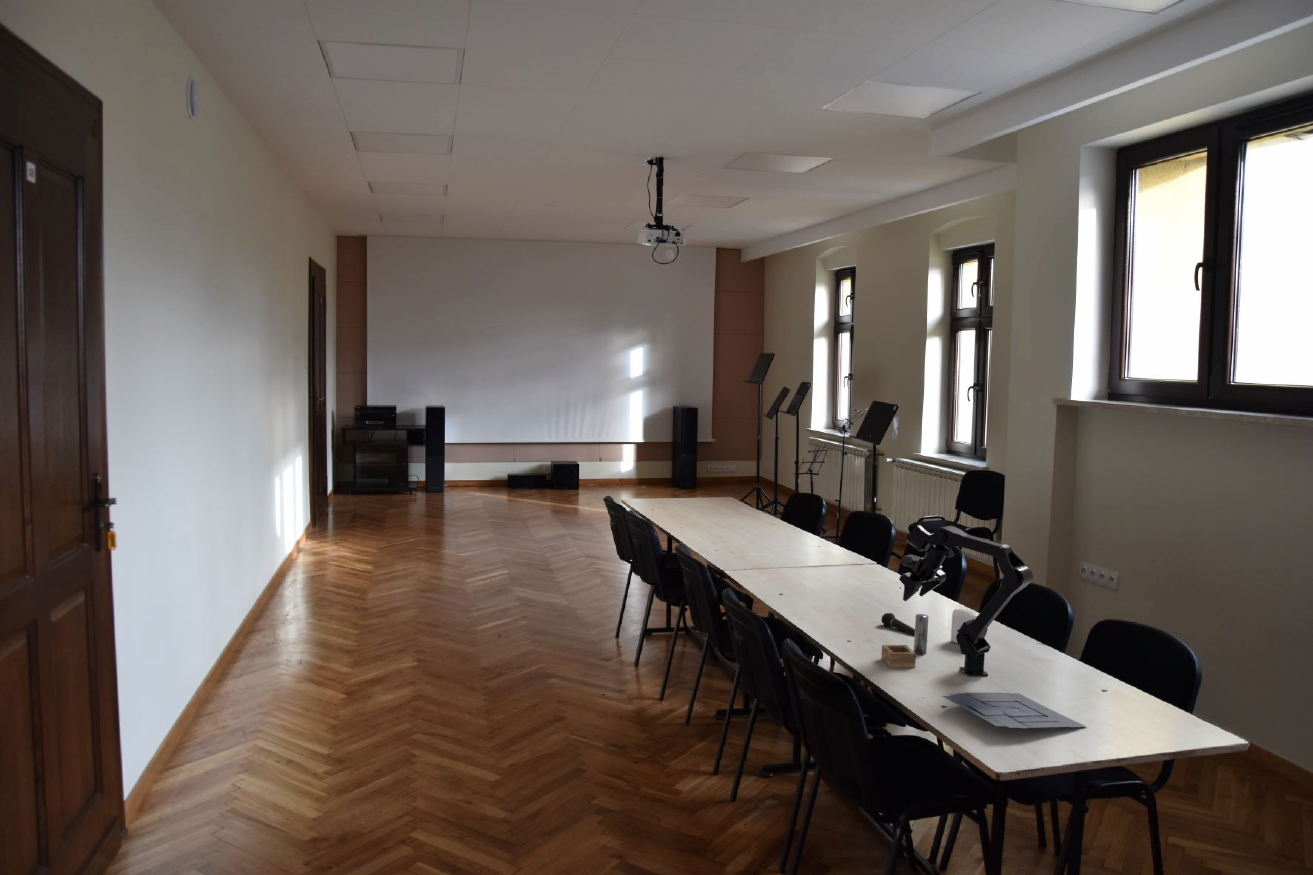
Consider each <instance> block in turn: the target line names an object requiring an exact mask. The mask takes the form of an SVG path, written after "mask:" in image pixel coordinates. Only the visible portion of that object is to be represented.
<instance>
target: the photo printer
mask: <svg viewBox="0 0 1313 875" xmlns="http://www.w3.org/2000/svg"><path fill="white" fill-rule="evenodd" d="M951 615H952V616H951V630H950V632H951V634H950V635H951V636H950V641H951V642H953V643H955V644H958V642H957V638H956V635H957V633H958V632H957V630H959V629H960V628H961V626H962V624H963V623H964V622H965V621H968V620H971V619H974V620H975V619H976V617H977V616H978V615H979V614H978V613H977V612H976V611H974V610H971V609H969V608H965V607H956V608H954V609H953V611H952V614H951Z"/></svg>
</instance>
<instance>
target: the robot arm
mask: <svg viewBox="0 0 1313 875" xmlns="http://www.w3.org/2000/svg"><path fill="white" fill-rule="evenodd" d="M905 541H906V542H907V543H909V545H911V546H912V547H914V548H915V549H916V550H917V551H919V552H923V551H924V552H925V554H924V556H923V557H920V556H917V555H914V554H907V555H904V556H902V558H901V559H900V563H901V565H902V566H903V567H908V568H909V569H912V570H911V571H912V572H913V573H914V574H913V573H912V572H911V571H909V572H906V573H901V574H900V576H899V580H898V581H900V583H902V584H903V594H902V600H903V602H908V600H909V599H911V598H912V597H913V596H914V595H915V594H917V593H918V592H919V594H918V595H919V597H923V596H925V595H926V594H927V593H929V592H931V591H932V590H933V589H936V588H937V587H938V586H939V585H942V583H944V582H946V580H947V578H948V577H947V574H946V573H945V572H944V571H943V570H942V569H943V566H942V564H943V562H944V560H945V558H948V559H949V558H952V557H955V553H954V551H953V548H955V547H956V548H963V549H966V550H970V551H974V552H978V553H980V554H984V555H987V556H991V557H994V558H995V559H996V561H997V563H998V566H999V570H1000V572H1001V573H1002V575H1003V577H1002V578H1001V581H1000V586H999V589H998V590H997V591H996V592H995V593H994V595H993V596H992V597H991V599H990V600H989V601H988V602H987V603H986V605H985V606H984V607H983V609H982V610H981V611H980V613H979V614H978V616H977V617H976V619H975V620H974V619H971V620H968V621H965V622H964V623H963V624H962V626H961V628H960V629H959V630H957V632H958V633H957V635H956V638H957V642H958V643H957V644H958V646H959V649H960V654H961V655H964V664H963V666H959V670H961V671H962V672H963V673H964V674H965V675H967V676H968V677H982V676H983V677H988V676H989V673H987V672H986V671H985V670H984V669H985V654H987V653H989V652H990V649H991V648H992V647H991V645H990V643H989V642H988V641H987V640H986V635H987V634H988V629H989V626H990V625H991V624H992V623H993V621H995V619H997V617H998V615H999V614H1000V613H1001V612H1002V611H1003V609H1005V607H1006V606H1007V604H1008V603H1009V602H1010V601H1011V599H1012V598H1013V597H1014V596H1015V595H1016V594H1017V593H1019V592H1020V591H1022V590H1023V589H1025V588H1026V587H1027V586H1028V585H1029V584H1030V583H1032V582H1033V579H1034V575H1033V574H1034V573H1033V572H1032V570H1031V569H1030V568H1029V567H1028V566H1027V565H1026V564H1025V562H1024V560H1023V559H1021V557H1020V556H1019V555H1017V554H1016V553H1015V551H1014V550H1013V548H1012V547H1011V546H1010V545H1009V544H1006V543H1005V544H1003V543H1000V542H996V541H992V540H988V539H985V538H982V537H978V536H975V535H971V534H968V533H966V532H964V531H963V529H960V528H958V527H956V526H954V525H947V526H941V527H939V528H936V529H935V531H934V532H933V533H930V532H929V531H927V530H926V529H925V528H924V527H923V526H922V525H921V524H919V525H915V526H914V528H913V529H912V530H910V532H909V533H908V534H907V535H906V537H905ZM915 573H916V575H915Z"/></svg>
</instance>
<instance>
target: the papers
mask: <svg viewBox="0 0 1313 875" xmlns="http://www.w3.org/2000/svg"><path fill="white" fill-rule="evenodd" d="M941 697H943V698H945V699H946V700H948V701H950V702H952V703H954V704H956V705H958V706H959V707H961V708H963V709H965V710H966V711H969V712H970V713H972V714H973V715H975V716H977V717H979V718H981V719H983V720H985V721H987V722H988V723H990V724H992V725H994V726H995V727H1008V728H1010V729H1012V728H1014V729H1015V728H1018V729H1019V728H1020V729H1033V728H1063V727H1064V728H1067V727H1068V728H1084V727H1085V728H1087V725H1084V724H1082V723H1080V722H1078V721H1076V720H1075V719H1074V720H1073V719H1071V718H1069V717H1067V716H1065V715H1063V714H1061V713H1059V712H1056V711H1055V710H1052V709H1051V708H1048V707H1046V706H1044V705H1042V704H1040V703H1039V702H1036V701H1034V700H1032V699H1031V698H1029V697H1027V696H1024V695H1023V694H1021V693H1015V692H1013V693H1010V692H1001V691H999V692H961V693H960V692H957V693H948V695H941Z"/></svg>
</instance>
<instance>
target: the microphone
mask: <svg viewBox="0 0 1313 875" xmlns="http://www.w3.org/2000/svg"><path fill="white" fill-rule="evenodd" d="M881 623H882V624H883V626H884V627H885V628H889V627H892V628H894V629H896V630H897V631H898V632H903V633H905V634H908V635H911V636H913V637H915V628H913V627H912V626H910V625H908V624H907V623H905V622H903V621H901V620H899V619H898V618H896V616H895V614H894V613H893V612H885V613H884V614H883V615H882V616H881Z"/></svg>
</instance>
